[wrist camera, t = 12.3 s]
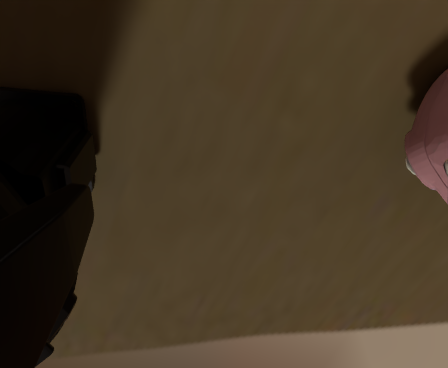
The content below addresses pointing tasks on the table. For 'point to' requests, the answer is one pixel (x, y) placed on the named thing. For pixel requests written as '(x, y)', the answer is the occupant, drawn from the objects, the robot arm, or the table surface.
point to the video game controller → (431, 139)
